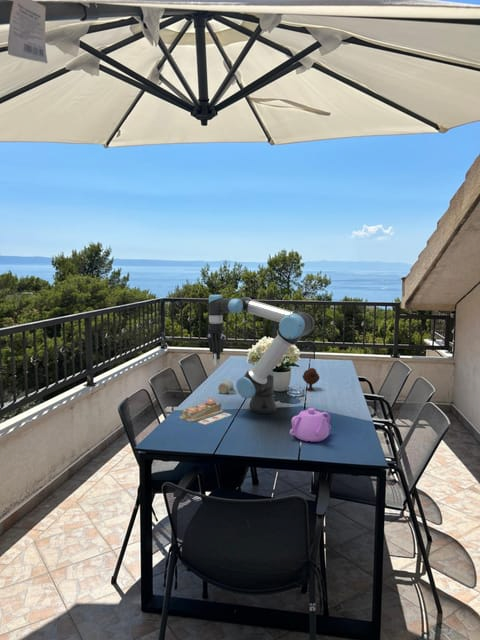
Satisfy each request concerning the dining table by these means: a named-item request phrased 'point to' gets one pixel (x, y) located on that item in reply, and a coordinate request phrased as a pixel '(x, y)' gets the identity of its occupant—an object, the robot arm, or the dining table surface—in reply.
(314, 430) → the teapot
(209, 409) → the button panel
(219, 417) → the pattern card
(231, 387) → the ceramic mug
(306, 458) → the dining table surface
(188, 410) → the button
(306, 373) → the brown tree model
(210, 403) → the button
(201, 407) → the button middle
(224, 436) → the dining table surface
